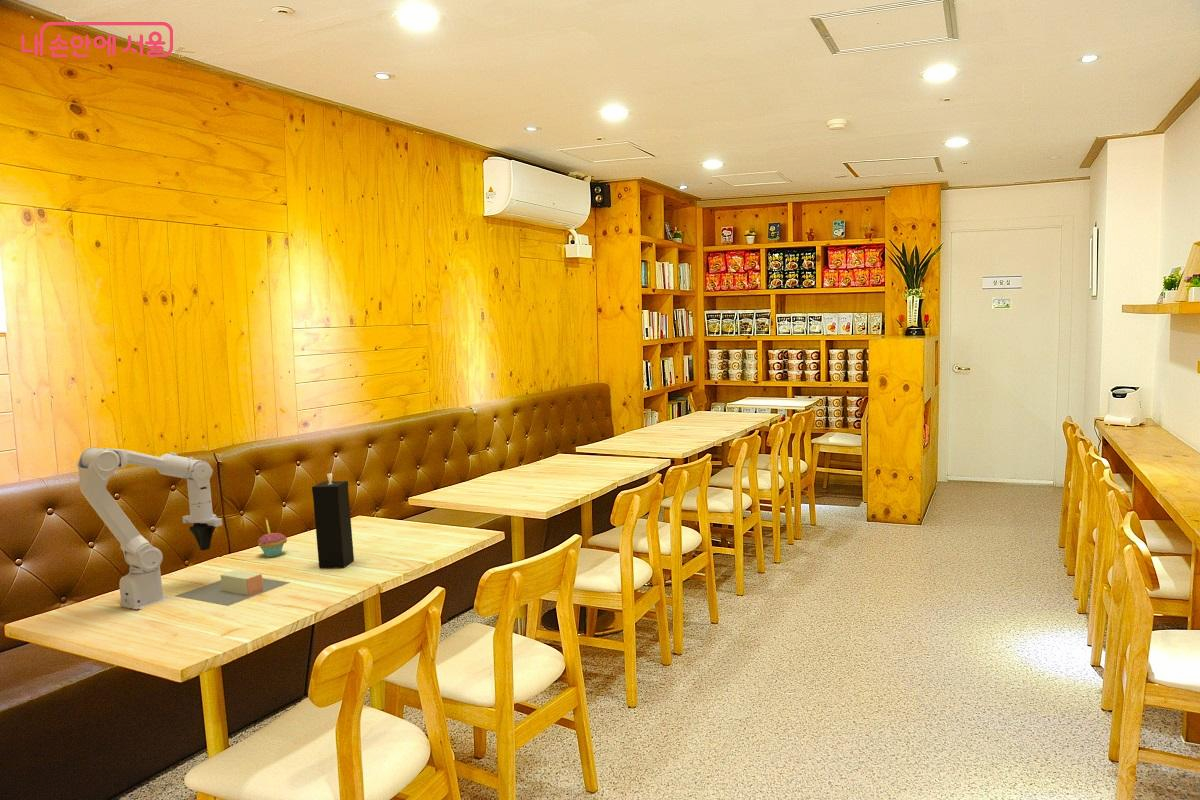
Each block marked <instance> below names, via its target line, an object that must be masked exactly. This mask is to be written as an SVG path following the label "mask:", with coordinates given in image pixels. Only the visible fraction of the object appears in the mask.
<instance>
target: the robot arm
mask: <svg viewBox="0 0 1200 800" xmlns="http://www.w3.org/2000/svg"><path fill="white" fill-rule="evenodd" d="M128 465H135V466H141V467H147V468H153V469H156V470H157V471H158V473H159V474H160V475H165V476H169V477H174V478H181V479H186V485H187V486H186V487H187V494H188V495H187V497H188V505H189V506H188V507H189V514H187V515H183V516H182V523H183V524H193V525H192V526H189V531H190V532H191V533H192V534H193V536H194V538H195V540H196V542H197V545H198V548H199V549H200V551H207V550H210V549H211V544H212V538H213V534H214V532H215V530H216V528H218V527H222V526H223V518H220V517H217V514H215V513H214V512H213V501H212V490H211V482H210V479H211V477H212V475H213V471H214V469H213V468H212V466H211V465H210V463H209V462H207V461H205V460H200V459H194V457H193V456H188V457H185V456H180V455H178V454H177V453H175V452H171V451H170V452H169V453H164V454H163V455H162V454H161V456H156V455H155V456H154V455H151V454H146V453H143V452H138V451H133V450H129V449H122V448H121V449H120V448H108V447H106V448H100V447H97V446H92V447H87V448H85V450H83V452H81V454H80V456H79V458H78V462H77V463H76V467H77V470H78V478H79V479H78V481H79V491H80V493H81V495H83V497H84V498H85V500H86V501H87V502H88V503H89V505H90V506H91V507H92V509H93V510H94V511H95V512H96V514H97V515H98V516H99V518H100V519H101V520H102V521H103V523H104V524H105V526H106V527H107V528H108V530H109V531H110V532H111V533H112V535H113V537H115V539H116V540H117V541H118V542H119V544H120V549H121V551H122V552H123V556H124V557H123V558H124V561H125V563H126V564H127V565H129V568H128V569H129V570H128V571H129V572H128V573H127V574H126V575H123V576H122V577H121V578H120V579H119V583H118V584H119V594H120V604H119V607H121V606H122V607H121V608H126V607H127V609H130V608H132V610H135V609H136V611H138V610H137V609H139V610H141V609H142V608H143V607H146V606H150V605H153V604H155V603H159V602H161V601H164V600H167V599H170V598H171V596H167V595H164V592H163V585H162V584H163V583H162V575H161V573H162V571H161V564H162V562H163V558H164V555H163V552H162V551H161V550H160V549H159V548H157V547H156V546H153V545H152V544H151V542H150V541H148V539H147V538H145V537H144V536H143V535H142V534H141V533H140V532H139V530H138V529H137V528H136V527H135V525H134V524H133V522H132V521H131V520H130V518H129V517H128V516H127V515H126V513H125V512H124V511H123V509H122V508H121V506H120V505H119V504H118V503H117V501H116V500H115V498H114V497H113V496H112V494H111V493H110V492H109V491H108V489H107V486H108V482H109V480H110V479H111V477H112V476H113V475H114V473H115V472H116V471H117V469H118V468H124V467H125V466H128ZM140 608H141V609H140Z"/></svg>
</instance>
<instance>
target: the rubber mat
mask: <svg viewBox="0 0 1200 800" xmlns="http://www.w3.org/2000/svg"><path fill="white" fill-rule="evenodd" d="M262 584H263V591H260V592H257V593H255V594H252V595H243V594H237V593H231V592H226V591H222V584H221V579H220V580H217V581H215V582H211V583H208V584H206V585H202V586H199V587H197V588H194V589H190V590H188V591H184V592H181V593H179V594H177V595H175V597H178V598H183V599H189V600H194V601H199V602H200V601H201V602H205V603H210V604H216V605H221V606H226V607H229V606H232V605H234V604H237V603H239V602H242V601H245V600H247V599H251V598H253V597H256V596H259V595H261V594H263V593H267V592H269V591H272V590H275V589H278V588H280V587H282V586H285V585H288V584H291V582H290V581H284V580H277V579H270V578H264V577H262Z"/></svg>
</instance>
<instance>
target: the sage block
mask: <svg viewBox="0 0 1200 800" xmlns="http://www.w3.org/2000/svg"><path fill="white" fill-rule="evenodd" d="M262 578H263V575H262V574H261V573H255V572H248V571H242V570H235V569H234V570H232V571H228V572H226V573H221V574H220V580H221V584H222V591H226V592H231V593H237V594H243V595H252V594H255V593H257V592H260V591H263V584H262Z"/></svg>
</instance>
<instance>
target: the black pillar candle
mask: <svg viewBox="0 0 1200 800" xmlns="http://www.w3.org/2000/svg"><path fill="white" fill-rule="evenodd" d="M326 476H327V481H322V482H320V483H318V484H316V485H313V486H312V487H311V492H312V500H313V512H314V523H315V534H316V536H315V537H316V546H317V559H318V568H319V569H323V568H324V569H344V568H346V567H347V566H348V565H349V564H351V563H352V562H354V561H355V555H354V554H355V553H354V544H353V543H354V542H353V532H352V530H353V529H352V521H351V520H352V518H351V508H350V507H351V506H350V505H351V504H350V495H349V480H336V481H333V473H332V472H330V473H326Z"/></svg>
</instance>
